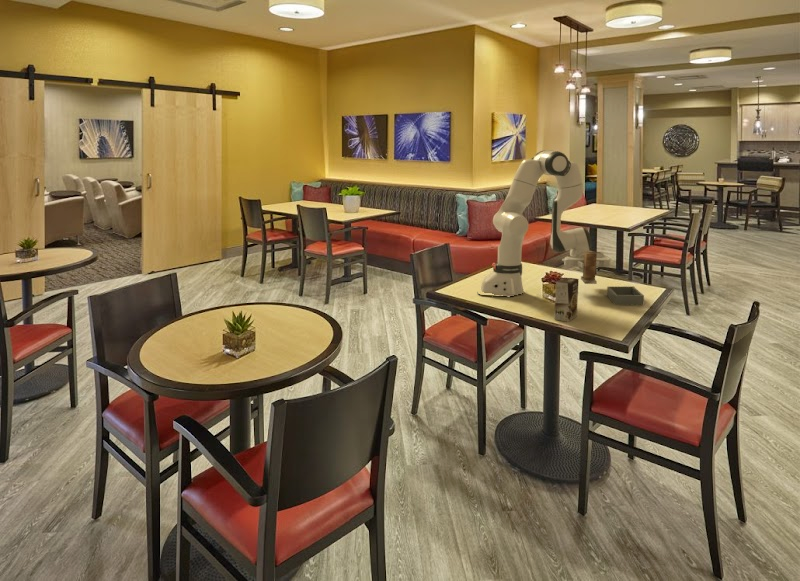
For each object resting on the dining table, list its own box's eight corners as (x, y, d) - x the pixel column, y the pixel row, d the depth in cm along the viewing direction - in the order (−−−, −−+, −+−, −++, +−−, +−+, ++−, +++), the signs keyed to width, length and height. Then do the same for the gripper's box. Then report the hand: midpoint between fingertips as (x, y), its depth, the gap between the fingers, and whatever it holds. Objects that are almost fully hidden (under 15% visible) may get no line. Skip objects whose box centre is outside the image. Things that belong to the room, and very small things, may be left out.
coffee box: (569, 322, 225) (571, 283, 220) (553, 319, 228) (555, 281, 224) (577, 316, 232) (579, 278, 227) (562, 313, 235) (563, 276, 231)
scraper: (584, 283, 250) (587, 254, 246) (580, 278, 259) (582, 250, 255) (596, 283, 249) (598, 254, 246) (592, 279, 258) (594, 250, 255)
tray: (615, 305, 245) (616, 295, 244) (606, 295, 260) (607, 286, 259) (643, 305, 243) (644, 295, 242) (632, 295, 258) (633, 286, 257)
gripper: (561, 252, 265) (566, 258, 251) (606, 252, 262) (614, 258, 249) (560, 265, 266) (565, 272, 253) (605, 265, 264) (612, 272, 251)
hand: (590, 265), depth 251 cm, fingers closed on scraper, 4 cm apart
